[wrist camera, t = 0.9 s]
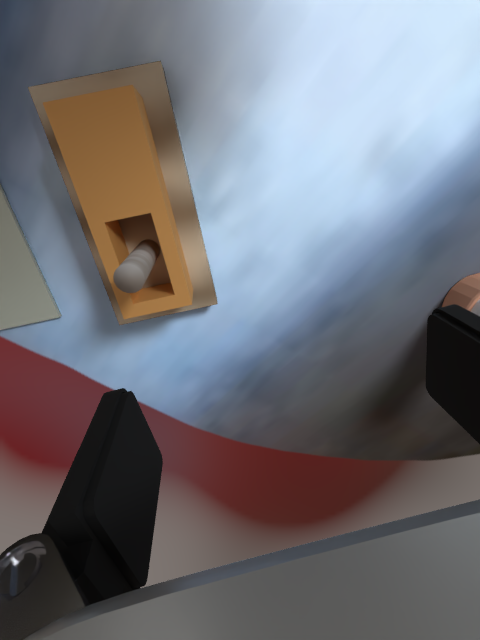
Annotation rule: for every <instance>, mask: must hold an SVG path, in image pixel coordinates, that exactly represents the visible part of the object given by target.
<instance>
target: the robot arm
mask: <svg viewBox="0 0 480 640" xmlns="http://www.w3.org/2000/svg"><path fill="white" fill-rule="evenodd" d="M426 388H427V391H428V393H429V395H430V396H431V397H432V398H433V399H434V400H435V401H436V402H437V403H438V404H439V405H440V406H441V407H442V408H443V409H444V410H445V411H446V412H447V413H448V414H449V415H450V416H452V417H453V418H454V419H455V420H456V421H457V422H458V423H459V424H460V425H461V426H462V427H463V428H464V429H465V430H466V431H467V432H468V433H469V434H470V435H471V436H472V437H473V438H474V439H475V440H476V441H477V442H478V443H479V444H480V316H478V315H476V314H474V313H472V312H470V311H468V310H467V309H465V308H463V307H461V306H459V305H456V304H453V305H449V306H445V307H441V308H437V309H435V310H433V312H432V315H430V316H429V317H428V326H427V360H426ZM161 472H162V455H161V452H160V450H159V447H158V446H157V443H156V441H155V439H154V437H153V435H152V432H151V430H150V428H149V426H148V424H147V421H146V419H145V417H144V415H143V413H142V411H141V409H140V406H139V404H138V402H137V400H136V398H135V395H134V394H133V392H132V391H129V392H127V391H126V390H125V389H124V388H122V389H118V390H114V391H110V392H106V393H104V395H103V396H102V398H101V401H100V403H99V405H98V407H97V410H96V412H95V414H94V417H93V419H92V421H91V423H90V426H89V428H88V430H87V432H86V435H85V437H84V439H83V442H82V444H81V446H80V448H79V450H78V452H77V454H76V457H75V459H74V461H73V463H72V466H71V468H70V470H69V472H68V475H67V477H66V479H65V481H64V484H63V486H62V488H61V490H60V493H59V495H58V497H57V500H56V502H55V504H54V506H53V508H52V511H51V513H50V515H49V518H48V520H47V522H46V524H45V527H44V529H43V531H42V533H39V534H34V535H30V536H27V537H25V538H23V539H21V540H19V541H17V542H16V543H14V544H13V545H11V546H10V547H9V548H7V549H6V550H5V551H4V552H3V553H2V554H1V555H0V640H480V500H476V501H472V502H468V503H464V504H460V505H456V506H452V507H448V508H444V509H440V510H436V511H432V512H428V513H424V514H421V515H416V516H413V517H409V518H405V519H401V520H397V521H393V522H389V523H385V524H382V525H378V526H373V527H370V528H366V529H362V530H358V531H354V532H350V533H346V534H343V535H338V536H334V537H331V538H327V539H323V540H319V541H315V542H311V543H308V544H304V545H300V546H296V547H292V548H288V549H284V550H281V551H277V552H273V553H269V554H265V555H262V556H258V557H254V558H250V559H246V560H243V561H239V562H235V563H231V564H227V565H224V566H220V567H216V568H212V569H208V570H205V571H201V572H197V573H194V574H190V575H186V576H183V577H179V578H176V579H173V580H169V581H166V582H162V583H158V584H155V585H151V586H148V587H144V588H140V587H142V586H144V585H145V584H146V582H147V577H148V569H149V562H150V554H151V547H152V540H153V532H154V525H155V516H156V510H157V502H158V495H159V487H160V480H161Z"/></svg>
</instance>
